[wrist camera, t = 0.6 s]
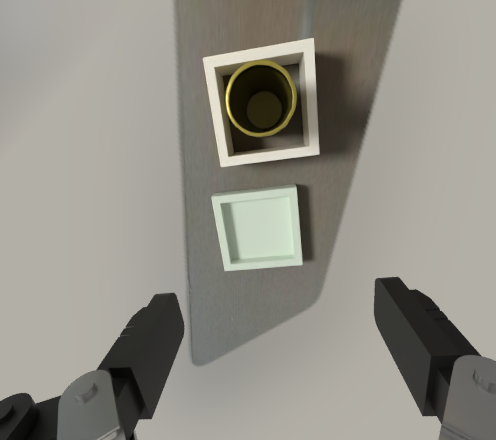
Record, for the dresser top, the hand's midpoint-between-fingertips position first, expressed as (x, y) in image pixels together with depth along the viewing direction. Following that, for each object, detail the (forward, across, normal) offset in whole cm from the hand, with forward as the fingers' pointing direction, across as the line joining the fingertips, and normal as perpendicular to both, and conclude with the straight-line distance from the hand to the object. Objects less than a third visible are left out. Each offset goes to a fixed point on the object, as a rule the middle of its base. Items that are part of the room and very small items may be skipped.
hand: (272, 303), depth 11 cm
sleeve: (+27, 0, -8) cm, 28 cm away
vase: (+27, 0, -8) cm, 28 cm away
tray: (+26, +2, +7) cm, 27 cm away
